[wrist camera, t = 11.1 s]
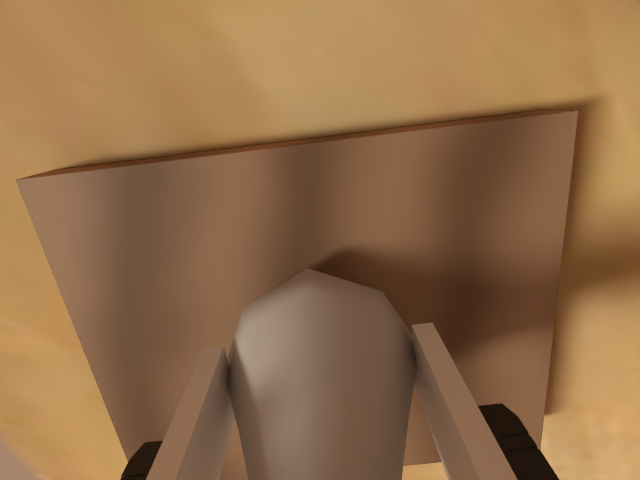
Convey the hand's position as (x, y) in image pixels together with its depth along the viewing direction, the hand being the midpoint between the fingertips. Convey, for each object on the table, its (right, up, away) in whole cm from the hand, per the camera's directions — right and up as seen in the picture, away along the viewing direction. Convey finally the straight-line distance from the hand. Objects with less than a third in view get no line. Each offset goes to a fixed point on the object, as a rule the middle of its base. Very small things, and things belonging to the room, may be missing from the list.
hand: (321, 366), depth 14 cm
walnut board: (0, +1, +4) cm, 4 cm away
